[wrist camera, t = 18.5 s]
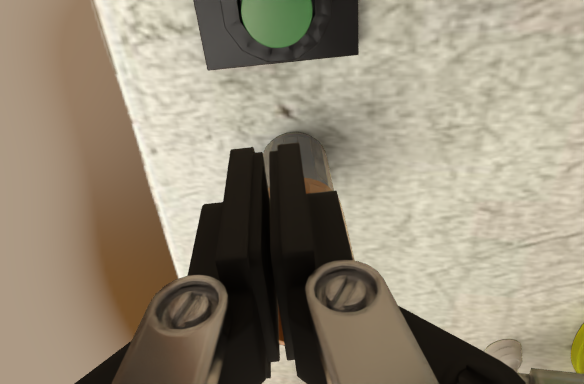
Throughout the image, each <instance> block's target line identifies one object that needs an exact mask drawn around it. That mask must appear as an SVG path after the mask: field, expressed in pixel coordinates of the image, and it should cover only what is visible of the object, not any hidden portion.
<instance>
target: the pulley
mask: <svg viewBox="0 0 584 384" xmlns="http://www.w3.org/2000/svg"><path fill="white" fill-rule="evenodd" d="M571 361H572V365H573V367H574V369H575V371H576V372H577V373H581V374H584V324H583V325H582V326H581V328H580V329H579V331H578V333H577V335H576V337H575V339H574V341H573V344H572V349H571Z"/></svg>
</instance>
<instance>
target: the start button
mask: <svg viewBox="0 0 584 384" xmlns="http://www.w3.org/2000/svg"><path fill="white" fill-rule="evenodd" d="M312 14H313V7H312V1H311V0H242V4H241V16H242V21H243V24H244V26H245V28H246V30H247V32H248V33H249V34H250V36H251V37H252V38H253V39H254V40H256V41H257V42H258V43H260V44H262V45H264V46H267V47H271V48H284V47H287V46H290V45H292V44H294V43H296V42H297V41H299V40H300V39H301V38H302V37H303V36H304V35H305V33H306V32H307V30H308V28H309V26H310V23H311V20H312Z"/></svg>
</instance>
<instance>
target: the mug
mask: <svg viewBox="0 0 584 384" xmlns="http://www.w3.org/2000/svg"><path fill="white" fill-rule="evenodd" d="M289 143H299V145H300V152H301V159H302V167H303V174H304V178H310V179H314V180H317V181H320V182H322V183H324V184H325V185H327V186H328V187H330V188H331V189H332V190H333V191H334V188H333V183H332V179H331V174H330V169H329V165H328V160H327V156H326V153H325V150H324V148H323V146H322V145H321V144H320V143H319V141H317V140H316V139H315V138H313V137H312V136H310V135H307V134H304V133H299V132H291V133H286V134H283V135H280V136H278V137H276V138H275V139H273V140H272V141H271V142H270V143H269V144H268V145H267V147H266V148H265V150H264V153H263V157H264V164H265V171H266V177H267V184H268V188H269V187H270V179H269V151H278V150H277V145H280V144H289Z"/></svg>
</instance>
